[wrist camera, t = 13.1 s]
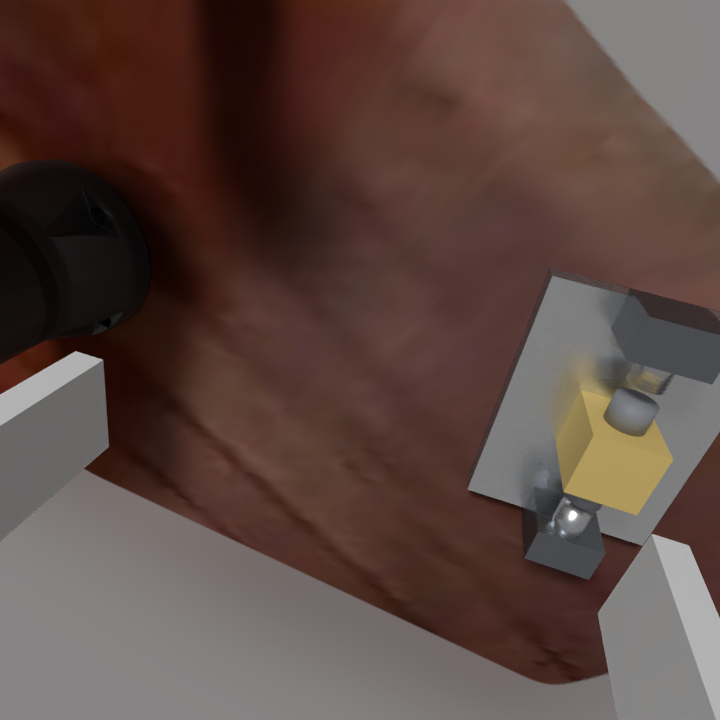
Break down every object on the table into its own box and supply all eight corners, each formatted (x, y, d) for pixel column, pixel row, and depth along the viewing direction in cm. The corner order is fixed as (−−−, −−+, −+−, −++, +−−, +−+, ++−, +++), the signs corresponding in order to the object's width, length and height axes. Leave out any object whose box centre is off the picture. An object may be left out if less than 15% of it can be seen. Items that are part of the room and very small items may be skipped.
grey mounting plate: (634, 532, 44) (655, 602, 38) (467, 479, 46) (461, 537, 40) (774, 318, 34) (834, 365, 28) (552, 261, 36) (563, 293, 30)
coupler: (592, 367, 37) (607, 410, 32) (662, 387, 36) (689, 435, 31) (546, 460, 41) (552, 512, 36) (608, 480, 41) (623, 535, 35)
